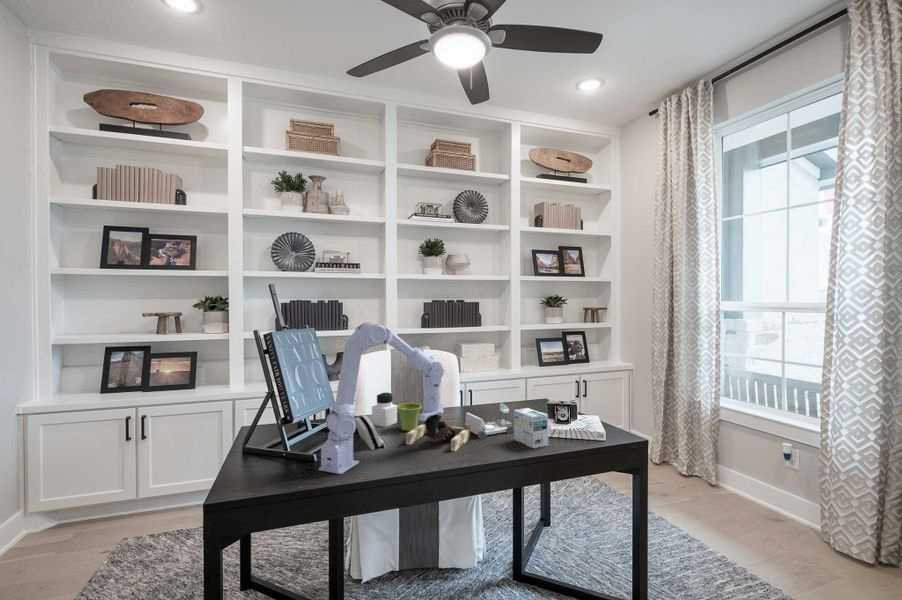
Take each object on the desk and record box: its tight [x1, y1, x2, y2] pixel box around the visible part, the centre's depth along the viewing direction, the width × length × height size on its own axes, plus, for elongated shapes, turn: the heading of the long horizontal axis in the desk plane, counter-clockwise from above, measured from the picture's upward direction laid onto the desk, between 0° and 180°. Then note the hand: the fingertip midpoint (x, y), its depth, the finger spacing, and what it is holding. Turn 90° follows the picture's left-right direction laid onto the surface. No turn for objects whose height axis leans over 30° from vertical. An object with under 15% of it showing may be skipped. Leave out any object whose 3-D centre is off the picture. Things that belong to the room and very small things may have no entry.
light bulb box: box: [513, 407, 549, 449], centre depth 155 cm, size 11×7×11 cm, turn 31°
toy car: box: [462, 402, 514, 439], centre depth 168 cm, size 18×10×12 cm
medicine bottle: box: [371, 391, 398, 428], centre depth 177 cm, size 7×7×12 cm
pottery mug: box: [427, 420, 456, 444], centre depth 156 cm, size 12×10×8 cm
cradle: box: [405, 421, 471, 452], centre depth 156 cm, size 14×18×5 cm
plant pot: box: [397, 402, 423, 432], centre depth 170 cm, size 9×9×9 cm
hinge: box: [354, 414, 387, 450], centre depth 156 cm, size 17×5×10 cm, turn 25°
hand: (431, 437), depth 150 cm, fingers closed, pressing on pottery mug
